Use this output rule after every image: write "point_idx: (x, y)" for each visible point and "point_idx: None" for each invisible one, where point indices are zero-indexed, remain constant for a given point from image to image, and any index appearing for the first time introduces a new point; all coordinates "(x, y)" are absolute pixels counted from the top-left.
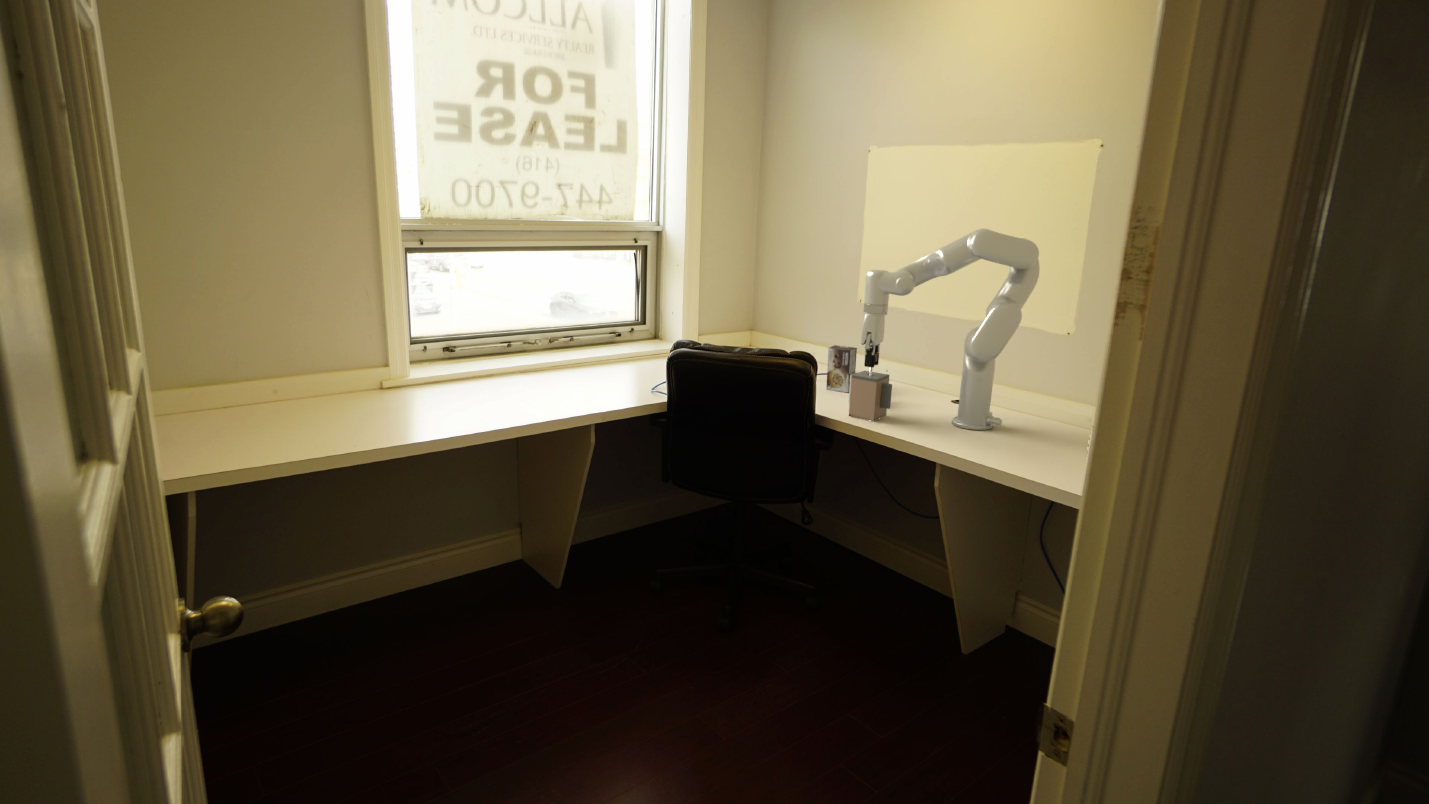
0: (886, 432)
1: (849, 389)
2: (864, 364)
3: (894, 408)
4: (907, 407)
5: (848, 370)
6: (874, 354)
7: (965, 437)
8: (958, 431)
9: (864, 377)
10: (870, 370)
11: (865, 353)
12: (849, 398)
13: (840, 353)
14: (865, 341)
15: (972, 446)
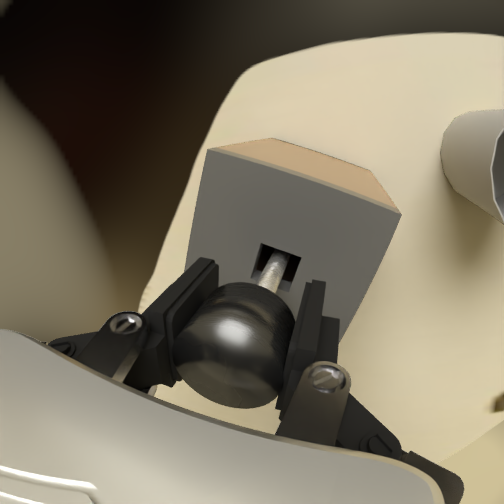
0: (165, 273)
1: (492, 110)
2: (195, 261)
3: (441, 277)
4: (458, 312)
5: None
6: (202, 385)
7: (225, 409)
8: (261, 407)
9: (190, 239)
10: (257, 281)
11: (114, 318)
12: (470, 113)
13: None
14: (105, 415)
15: (180, 406)
